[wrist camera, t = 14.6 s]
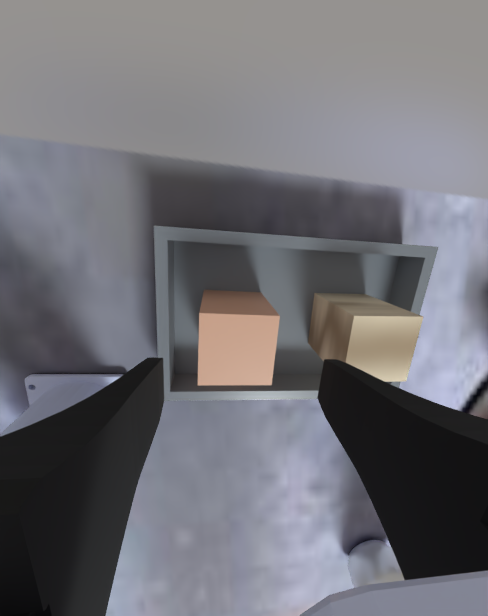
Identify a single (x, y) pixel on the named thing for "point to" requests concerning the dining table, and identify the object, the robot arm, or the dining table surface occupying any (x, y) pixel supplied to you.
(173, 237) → the slate tray
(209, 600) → the dining table surface
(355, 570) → the plastic bottle
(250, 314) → the terracotta block
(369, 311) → the beech block
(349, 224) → the dining table surface
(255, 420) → the dining table surface
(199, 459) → the dining table surface
